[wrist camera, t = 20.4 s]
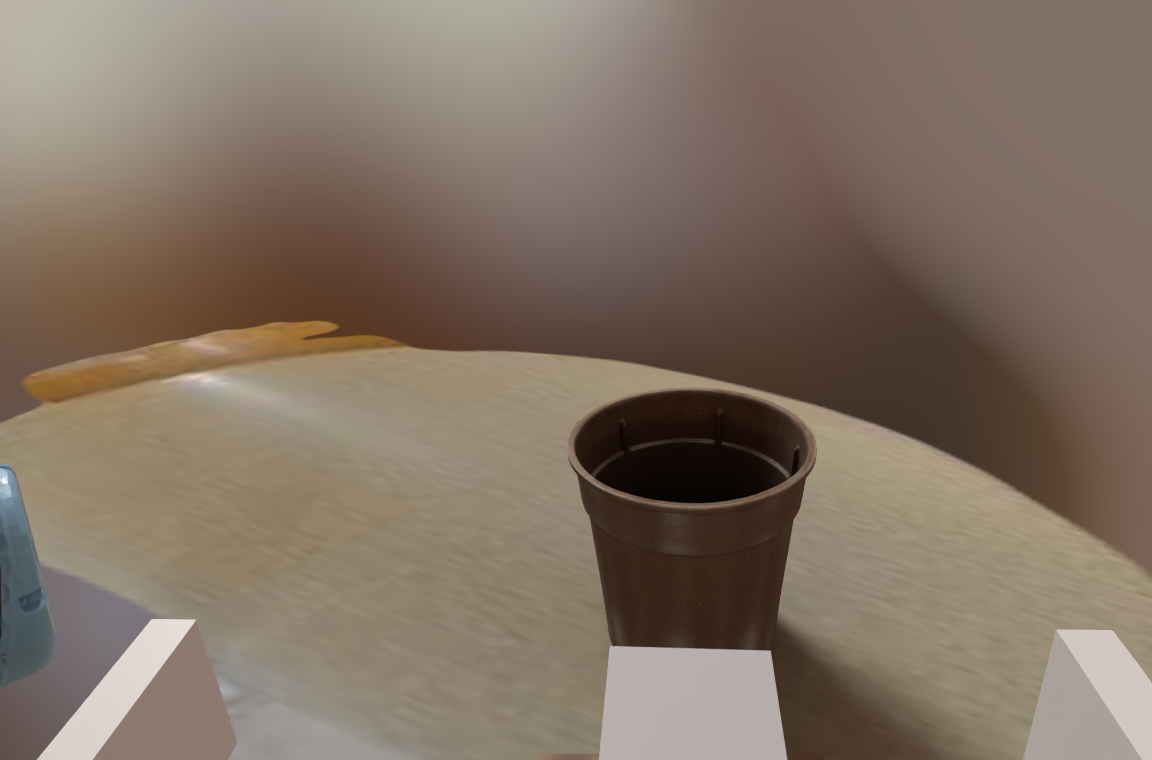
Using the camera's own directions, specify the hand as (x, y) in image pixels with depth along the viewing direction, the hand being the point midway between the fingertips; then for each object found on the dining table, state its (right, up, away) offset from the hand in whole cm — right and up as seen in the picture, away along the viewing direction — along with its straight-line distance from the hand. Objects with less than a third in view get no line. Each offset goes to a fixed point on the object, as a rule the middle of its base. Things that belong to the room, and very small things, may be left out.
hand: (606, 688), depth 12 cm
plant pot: (+8, -14, +46) cm, 49 cm away
